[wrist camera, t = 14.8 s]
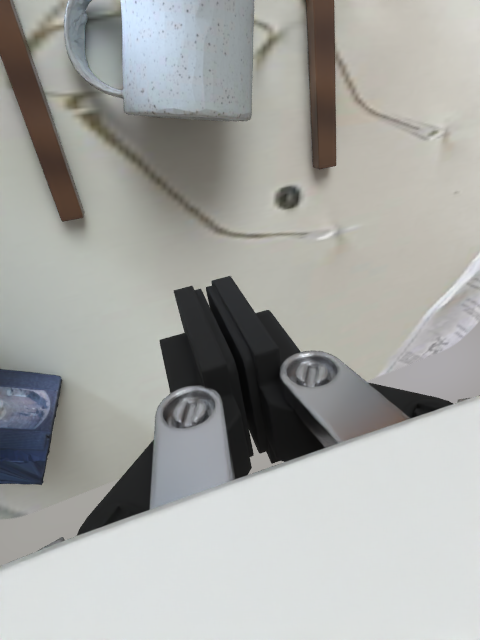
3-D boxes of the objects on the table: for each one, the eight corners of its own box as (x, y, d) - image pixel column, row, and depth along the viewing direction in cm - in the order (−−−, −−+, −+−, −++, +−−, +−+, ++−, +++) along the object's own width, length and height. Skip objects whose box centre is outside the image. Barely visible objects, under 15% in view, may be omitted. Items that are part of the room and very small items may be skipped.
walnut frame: (329, 164, 32) (336, 166, 31) (63, 217, 29) (62, 222, 28) (323, -148, 24) (332, -160, 23) (-62, -123, 20) (-71, -135, 19)
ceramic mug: (237, -25, 25) (278, -69, 19) (234, 120, 29) (266, 126, 22) (55, -47, 23) (28, -107, 16) (78, 115, 27) (63, 120, 20)
